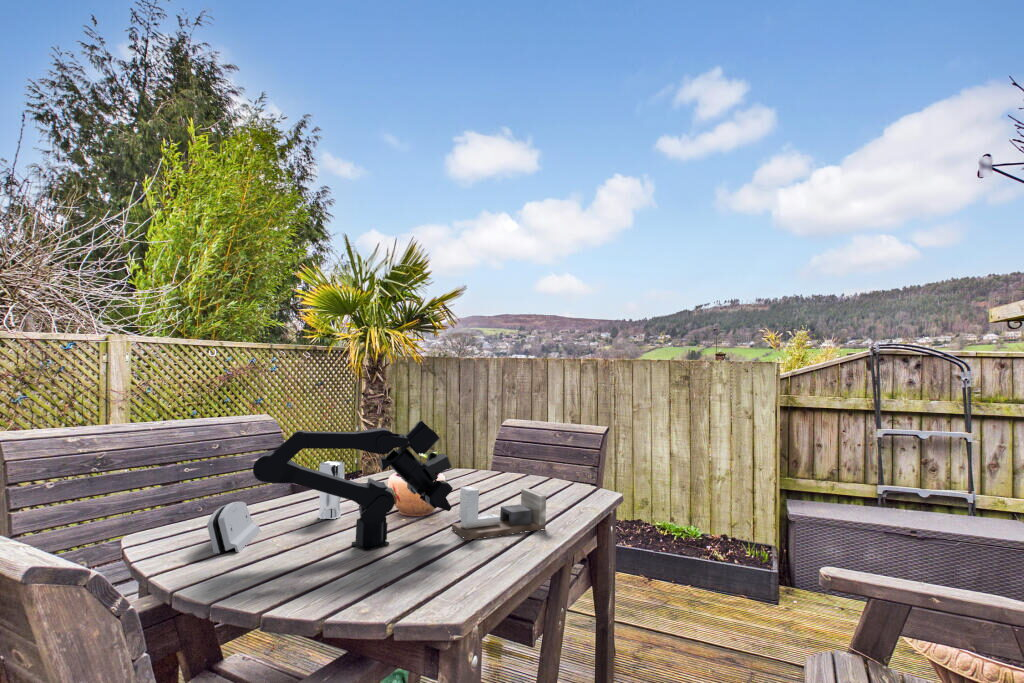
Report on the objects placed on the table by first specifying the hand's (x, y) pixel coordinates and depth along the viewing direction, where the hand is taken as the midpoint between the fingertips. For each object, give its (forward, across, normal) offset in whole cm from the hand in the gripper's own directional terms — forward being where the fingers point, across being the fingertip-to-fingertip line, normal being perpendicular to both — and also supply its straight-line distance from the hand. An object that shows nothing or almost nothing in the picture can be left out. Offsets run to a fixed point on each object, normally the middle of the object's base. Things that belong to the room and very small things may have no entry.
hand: (449, 509), depth 129 cm
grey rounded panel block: (-29, +16, +39) cm, 51 cm away
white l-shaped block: (+10, 0, -3) cm, 10 cm away
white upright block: (-12, +29, +22) cm, 39 cm away
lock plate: (+15, 0, -5) cm, 16 cm away
